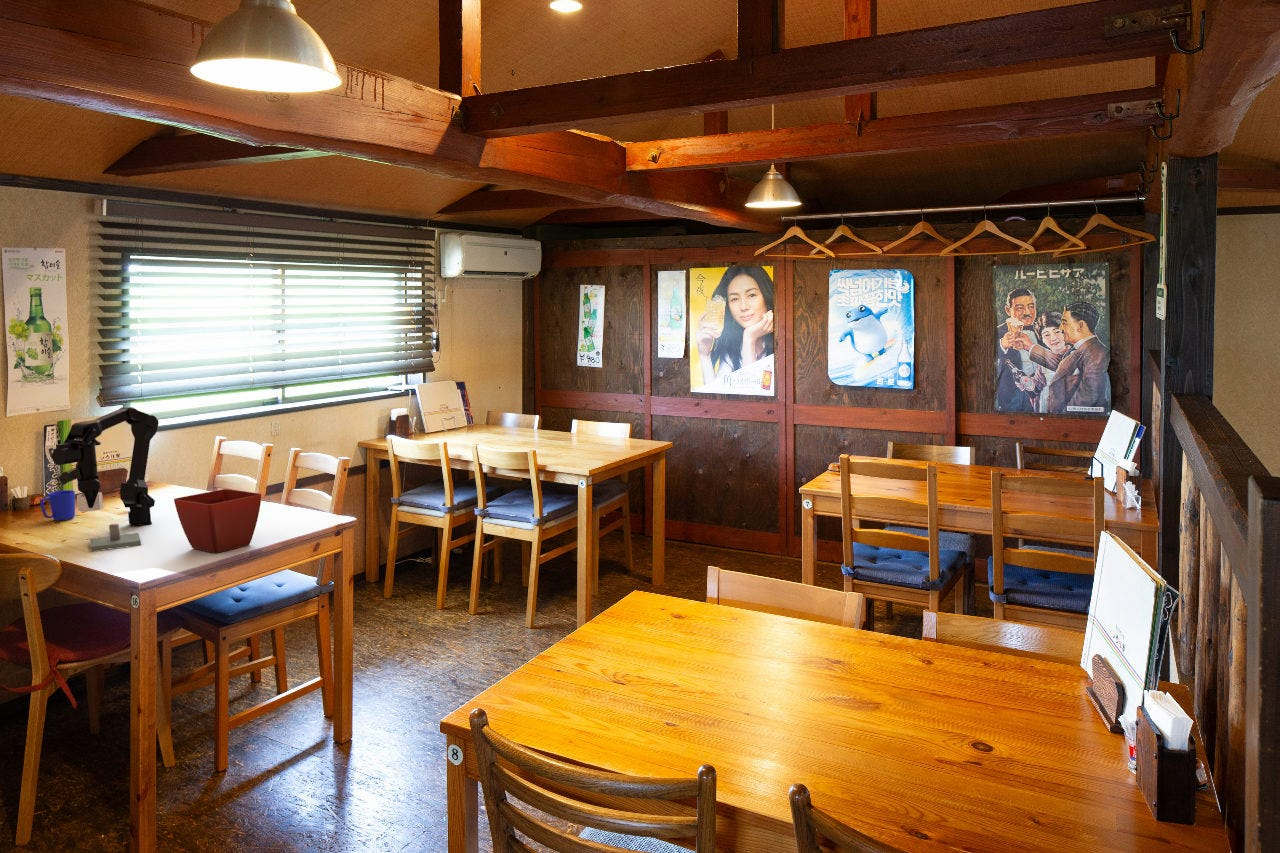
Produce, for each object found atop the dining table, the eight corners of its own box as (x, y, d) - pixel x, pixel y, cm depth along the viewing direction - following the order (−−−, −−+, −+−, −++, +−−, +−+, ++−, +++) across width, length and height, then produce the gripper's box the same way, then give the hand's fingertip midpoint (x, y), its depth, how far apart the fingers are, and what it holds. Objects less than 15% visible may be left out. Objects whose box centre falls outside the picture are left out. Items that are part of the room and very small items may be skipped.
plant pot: (229, 536, 307) (225, 487, 305) (266, 543, 298) (263, 493, 295) (176, 550, 291) (172, 498, 289) (213, 558, 281) (209, 504, 279)
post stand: (138, 537, 307) (137, 518, 306) (141, 545, 297) (139, 525, 296) (90, 543, 300) (88, 523, 299) (91, 551, 290) (89, 531, 289)
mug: (35, 523, 328) (32, 496, 327) (67, 515, 339) (64, 489, 338) (50, 525, 325) (48, 497, 324) (82, 517, 336) (80, 491, 335)
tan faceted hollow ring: (102, 505, 311) (101, 491, 310) (103, 509, 304) (102, 495, 304) (78, 508, 307) (76, 493, 306) (78, 512, 301) (77, 497, 300)
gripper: (58, 458, 307) (62, 503, 309) (57, 466, 291) (62, 514, 293) (96, 455, 313) (100, 499, 315) (97, 463, 297) (102, 510, 299)
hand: (90, 505), depth 305 cm, fingers closed on tan faceted hollow ring, 7 cm apart
